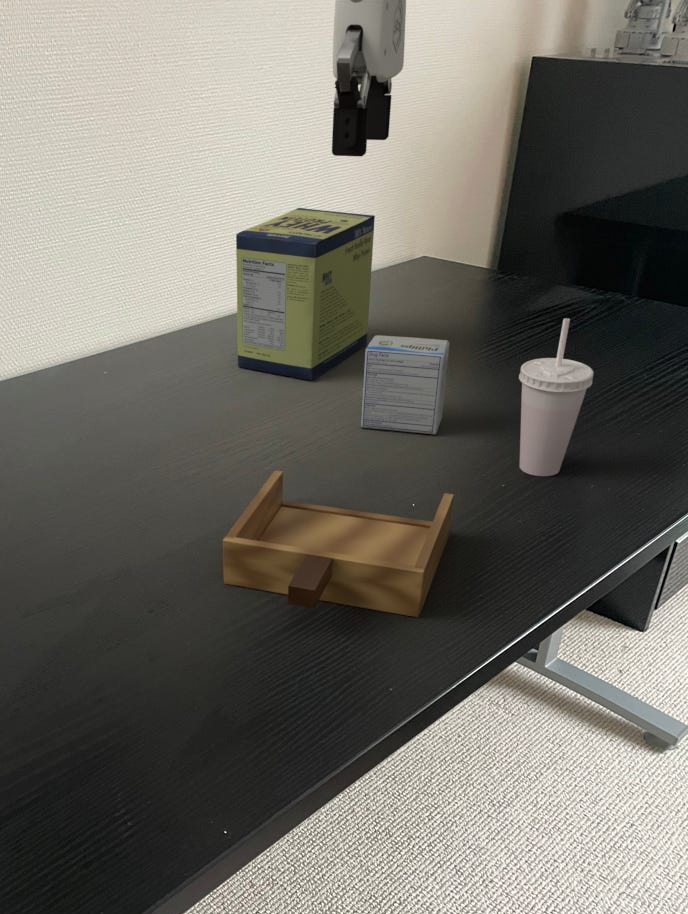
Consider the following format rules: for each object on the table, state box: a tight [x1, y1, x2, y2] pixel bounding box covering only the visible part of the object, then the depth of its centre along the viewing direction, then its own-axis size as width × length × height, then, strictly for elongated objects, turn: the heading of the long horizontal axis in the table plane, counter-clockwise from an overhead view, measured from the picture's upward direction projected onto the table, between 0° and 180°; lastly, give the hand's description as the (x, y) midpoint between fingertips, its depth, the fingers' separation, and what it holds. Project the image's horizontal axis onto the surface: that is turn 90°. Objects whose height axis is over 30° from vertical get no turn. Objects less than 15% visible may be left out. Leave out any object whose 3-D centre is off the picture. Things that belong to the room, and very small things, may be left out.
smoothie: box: [518, 317, 594, 477], centre depth 90 cm, size 6×6×14 cm
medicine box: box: [360, 334, 450, 436], centre depth 101 cm, size 8×4×9 cm, turn 71°
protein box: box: [235, 207, 376, 381], centre depth 118 cm, size 10×16×16 cm
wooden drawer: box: [222, 470, 455, 618], centre depth 78 cm, size 16×18×4 cm
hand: (361, 147), depth 97 cm, fingers open, 9 cm apart
